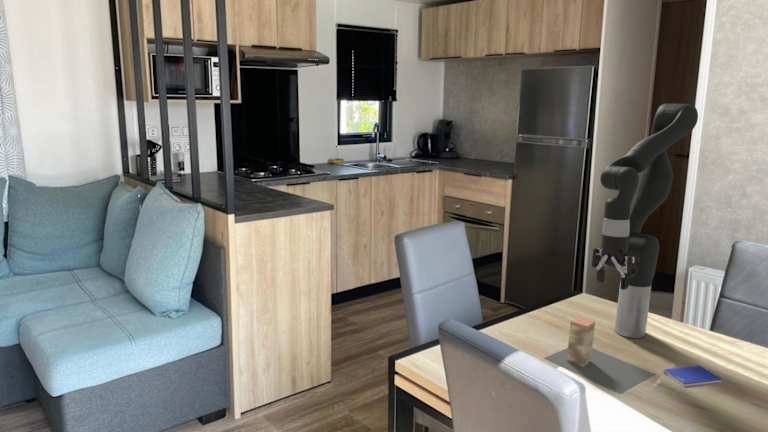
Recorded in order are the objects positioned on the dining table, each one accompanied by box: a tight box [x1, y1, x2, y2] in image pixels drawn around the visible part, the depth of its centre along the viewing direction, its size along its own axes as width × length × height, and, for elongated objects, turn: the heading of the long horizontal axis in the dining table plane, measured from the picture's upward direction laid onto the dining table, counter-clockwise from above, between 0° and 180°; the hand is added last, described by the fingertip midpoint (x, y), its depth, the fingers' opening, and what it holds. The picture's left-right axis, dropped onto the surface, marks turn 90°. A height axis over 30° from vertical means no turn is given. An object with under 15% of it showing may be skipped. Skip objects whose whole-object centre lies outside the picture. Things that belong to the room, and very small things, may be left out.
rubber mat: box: [543, 347, 656, 394], centre depth 160 cm, size 18×24×1 cm
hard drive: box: [662, 365, 723, 387], centre depth 156 cm, size 2×8×12 cm
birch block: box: [567, 316, 596, 367], centre depth 161 cm, size 5×5×12 cm
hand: (612, 285), depth 171 cm, fingers open, 8 cm apart
